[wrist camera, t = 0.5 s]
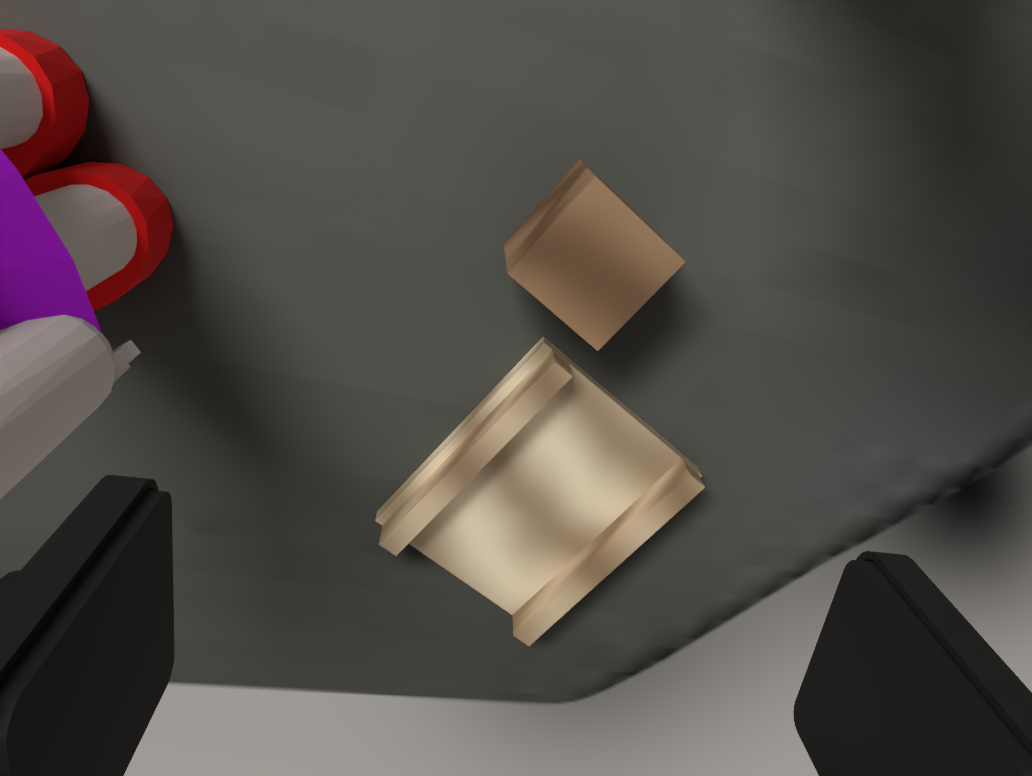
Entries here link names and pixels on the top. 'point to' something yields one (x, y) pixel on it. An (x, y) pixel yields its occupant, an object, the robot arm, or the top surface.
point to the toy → (60, 254)
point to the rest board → (540, 491)
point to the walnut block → (589, 256)
